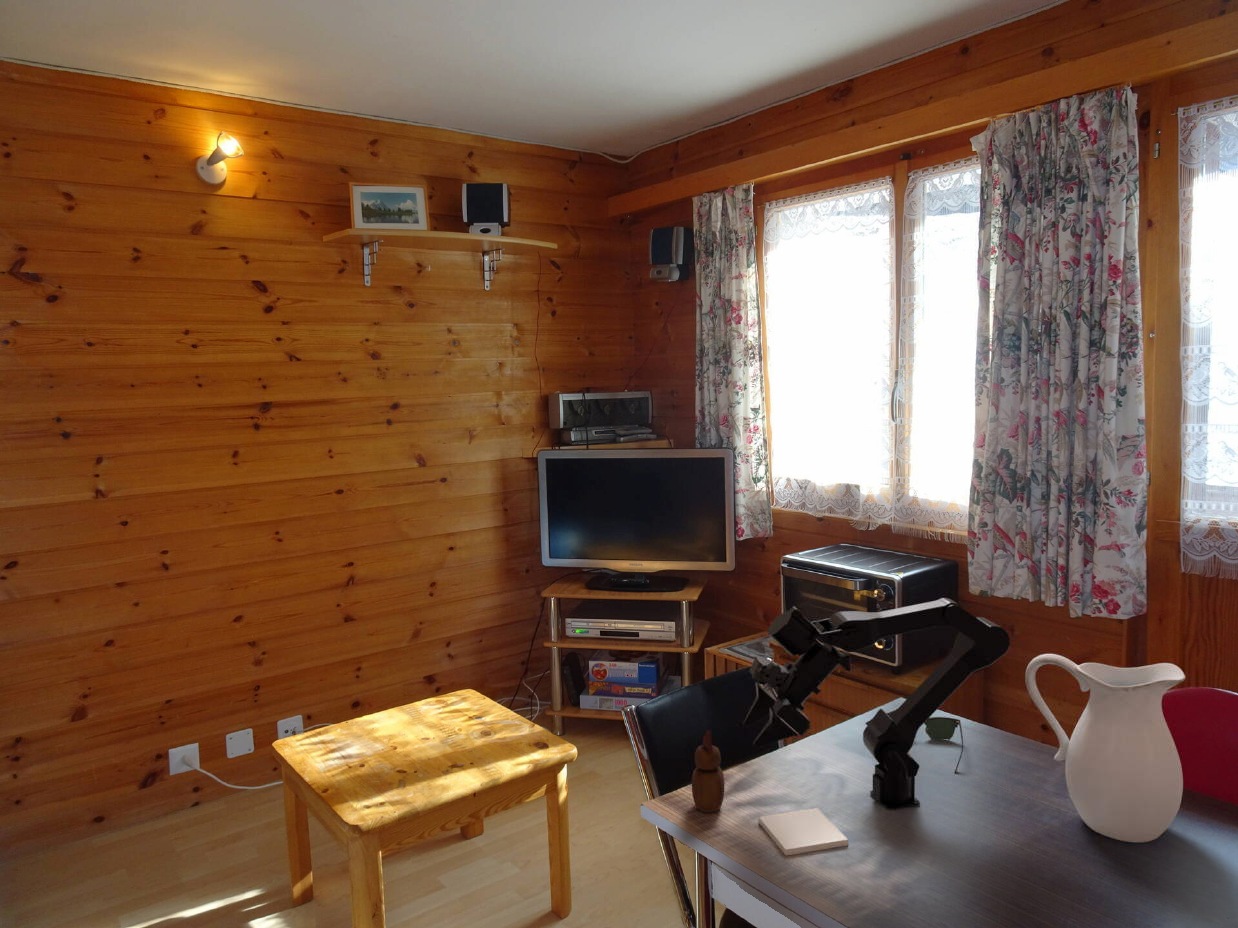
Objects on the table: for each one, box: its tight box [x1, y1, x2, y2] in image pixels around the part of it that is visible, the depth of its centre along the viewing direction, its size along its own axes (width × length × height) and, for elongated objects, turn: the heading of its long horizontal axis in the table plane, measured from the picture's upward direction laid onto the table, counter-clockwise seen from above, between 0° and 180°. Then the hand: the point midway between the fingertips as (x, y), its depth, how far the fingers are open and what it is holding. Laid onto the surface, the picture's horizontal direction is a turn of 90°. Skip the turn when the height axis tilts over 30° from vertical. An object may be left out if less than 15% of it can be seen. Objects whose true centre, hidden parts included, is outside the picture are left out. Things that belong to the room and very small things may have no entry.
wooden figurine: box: [691, 729, 725, 813], centre depth 155 cm, size 7×6×15 cm
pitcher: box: [1024, 653, 1186, 843], centre depth 147 cm, size 24×17×28 cm
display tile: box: [758, 807, 849, 856], centre depth 146 cm, size 11×11×1 cm
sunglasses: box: [923, 716, 964, 775], centre depth 176 cm, size 16×17×5 cm
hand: (749, 735), depth 155 cm, fingers open, 9 cm apart
